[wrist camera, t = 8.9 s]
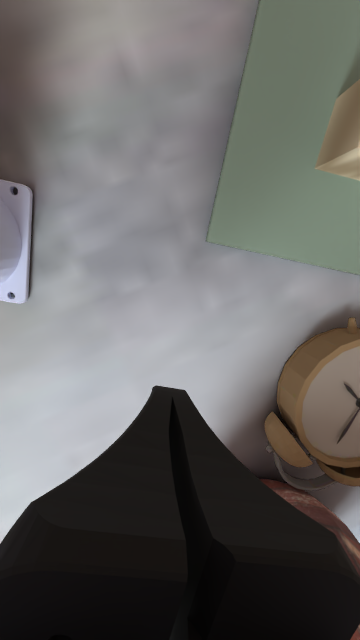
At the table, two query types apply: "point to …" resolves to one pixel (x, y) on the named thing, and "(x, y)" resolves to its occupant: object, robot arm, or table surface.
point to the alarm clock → (320, 409)
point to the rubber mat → (291, 139)
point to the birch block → (343, 137)
